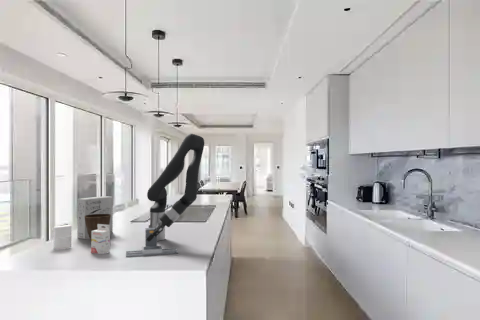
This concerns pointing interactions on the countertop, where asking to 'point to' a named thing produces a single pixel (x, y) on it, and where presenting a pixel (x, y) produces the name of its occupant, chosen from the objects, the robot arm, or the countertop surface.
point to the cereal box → (93, 212)
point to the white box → (62, 237)
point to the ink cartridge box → (100, 240)
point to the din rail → (151, 251)
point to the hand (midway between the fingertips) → (147, 239)
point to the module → (147, 234)
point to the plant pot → (96, 221)
